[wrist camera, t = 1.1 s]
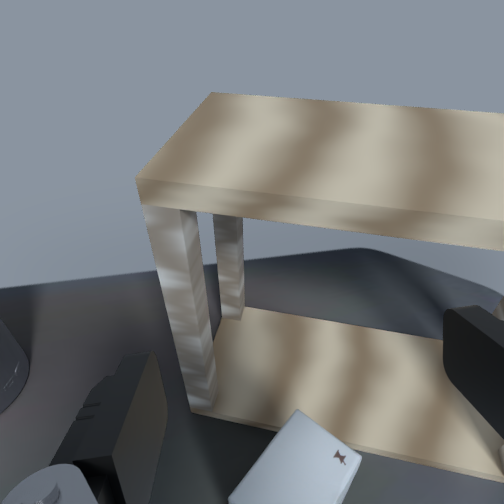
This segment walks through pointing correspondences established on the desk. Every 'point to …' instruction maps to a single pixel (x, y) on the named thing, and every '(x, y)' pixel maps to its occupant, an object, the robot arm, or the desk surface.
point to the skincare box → (299, 467)
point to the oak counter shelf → (332, 217)
